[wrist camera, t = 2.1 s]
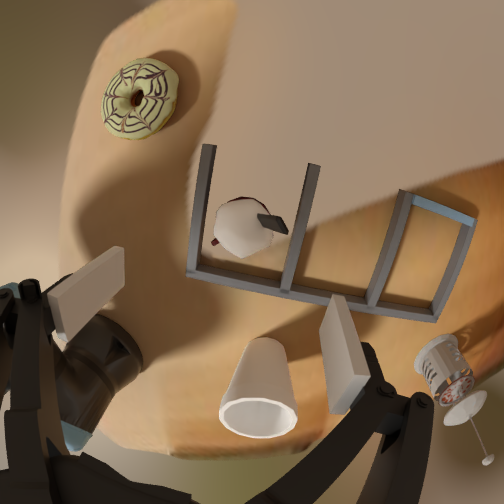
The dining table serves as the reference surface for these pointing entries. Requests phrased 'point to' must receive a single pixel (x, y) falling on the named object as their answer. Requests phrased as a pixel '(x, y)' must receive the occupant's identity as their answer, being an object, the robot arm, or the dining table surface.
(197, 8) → the dining table surface
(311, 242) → the dining table surface
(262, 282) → the organizer
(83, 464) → the robot arm
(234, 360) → the dining table surface
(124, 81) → the decorated donut
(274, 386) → the foam cup
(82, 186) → the dining table surface
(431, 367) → the french press
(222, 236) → the cocoa
